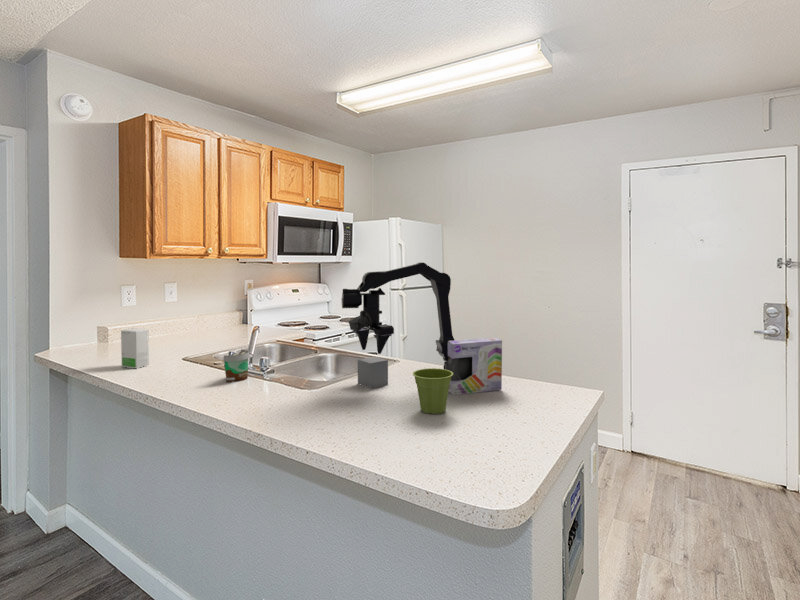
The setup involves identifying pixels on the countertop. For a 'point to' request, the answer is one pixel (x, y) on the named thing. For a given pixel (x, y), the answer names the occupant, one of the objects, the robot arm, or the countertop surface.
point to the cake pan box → (475, 365)
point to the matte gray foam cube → (373, 372)
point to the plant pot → (433, 389)
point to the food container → (237, 366)
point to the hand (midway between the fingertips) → (371, 351)
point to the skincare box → (135, 348)
